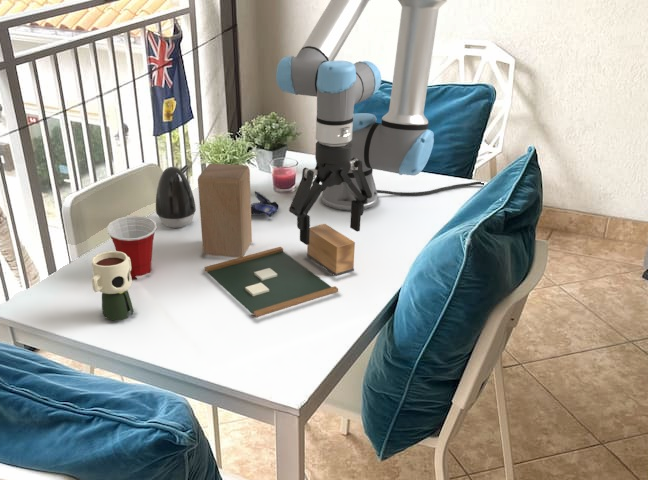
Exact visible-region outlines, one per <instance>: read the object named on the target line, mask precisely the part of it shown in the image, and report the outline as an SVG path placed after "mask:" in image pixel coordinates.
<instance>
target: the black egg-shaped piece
mask: <svg viewBox="0 0 648 480" xmlns="http://www.w3.org/2000/svg"><path fill="white" fill-rule="evenodd" d="M188 170H189V165H187V164H185V165H184V166H182V167H181V168H178V167H176V166H169V167H167V168H165V169H164V170H163V171H162V173H161V175H160V177H159V180H158V184H157V187H156V188H157V189H156V195H155V213H156V215H157V216H158V219H159V220H160V222H161V223H162V224H163V225H165V226H166V227H169V228H173V229H174V228H175V229H178V228H179V229H180V228H184V227H186V226H188V225H189V224H191V222H192V221H193V219H194V217H195V213H196V210H197V207H196V206H197V205H196V202H195V201H196V200H195V197H194V193H193V190H192V188H191V187H192V186H191V185H190V182H189V181H188V178H187V177H186V175H185V173H186V172H187V171H188Z"/></svg>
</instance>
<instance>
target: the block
mask: <svg viewBox="0 0 648 480" xmlns="http://www.w3.org/2000/svg"><path fill="white" fill-rule="evenodd" d="M197 188H198V189H197V190H198V202H199V203H198V204H199V214H200V215H199V217H200V228H201V229H200V230H201V243H202V254H203V255H206V256H217V257H218V256H219V257H230V258H240V257H244V256H246V253H247V251H248V249H250V245H251V244H252V242H253V234H252V233H253V232H252V231H253V230H252V214H251V204H252V203H251V202H252V201H251V199H252V198H251V170H250V167H249V165H245V164H231V163H229V164H228V163H213V162H212V163H209V164H208V165H207V166H206V167H205V168H204V170H203V171H202V172H201V173H200V174H199V175H198V177H197Z"/></svg>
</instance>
